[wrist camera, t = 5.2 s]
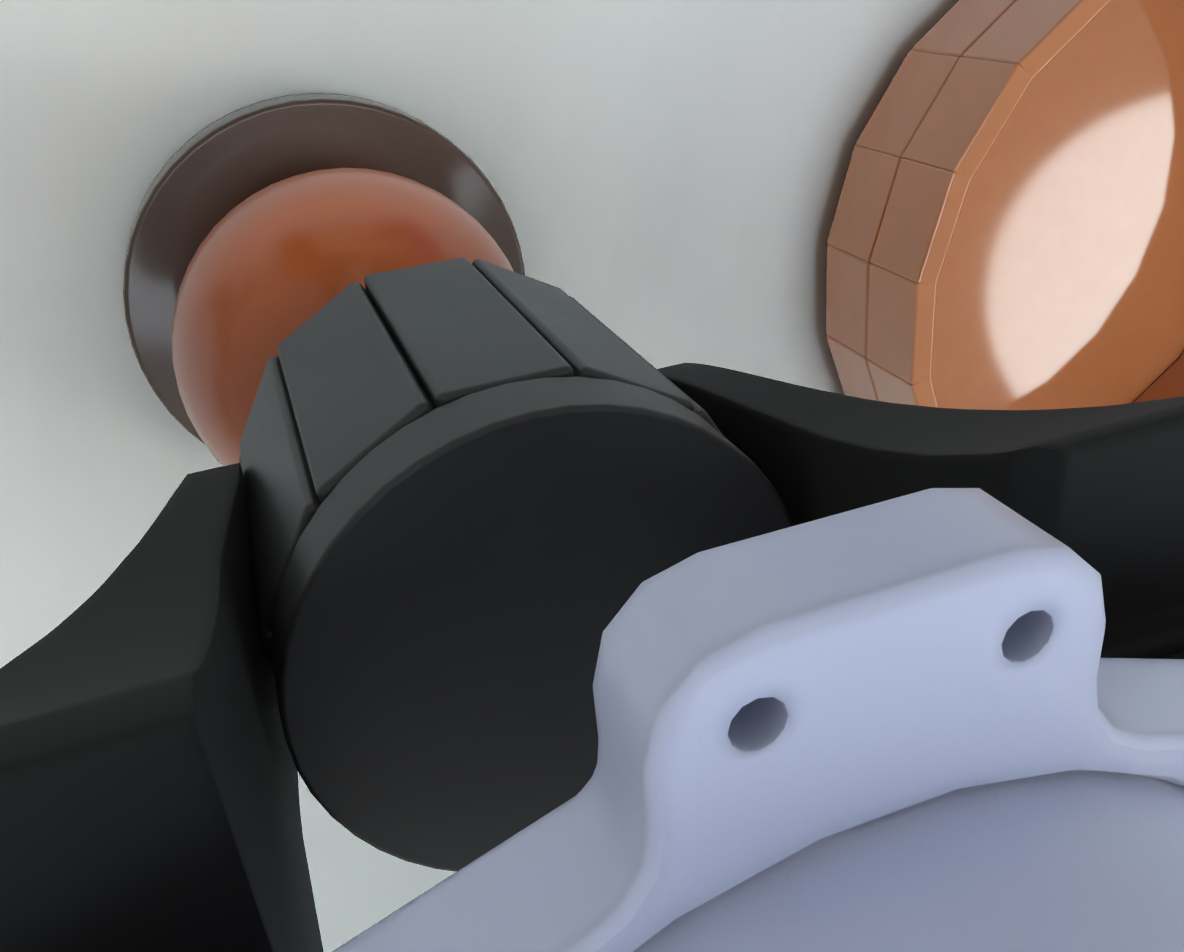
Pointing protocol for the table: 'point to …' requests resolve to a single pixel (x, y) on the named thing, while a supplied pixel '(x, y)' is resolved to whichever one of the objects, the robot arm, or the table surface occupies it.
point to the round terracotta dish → (1018, 213)
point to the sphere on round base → (287, 240)
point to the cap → (465, 543)
